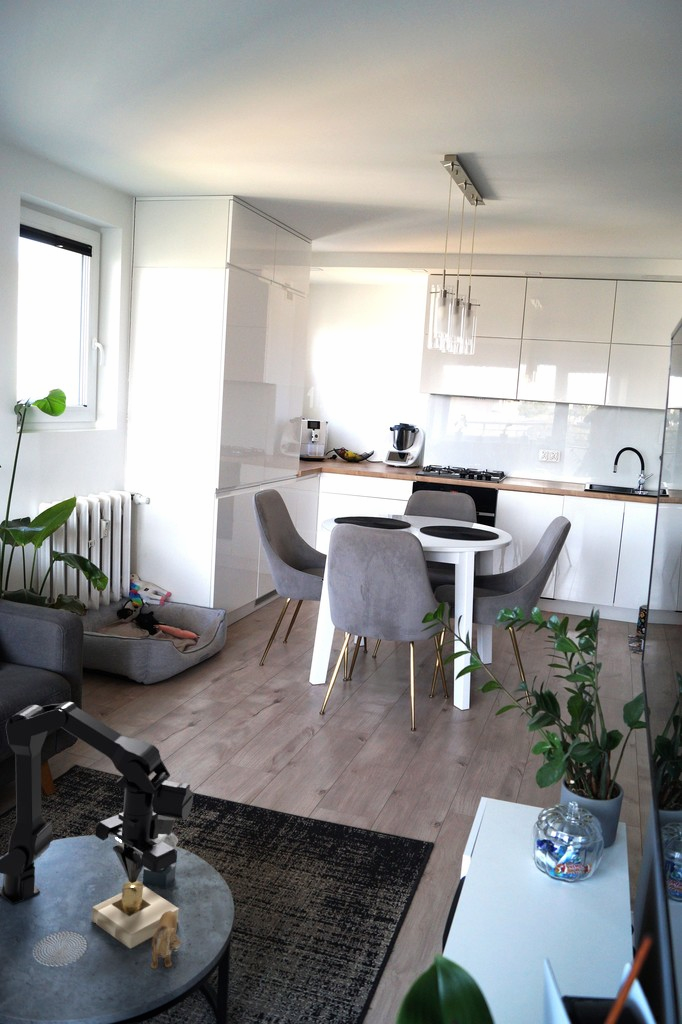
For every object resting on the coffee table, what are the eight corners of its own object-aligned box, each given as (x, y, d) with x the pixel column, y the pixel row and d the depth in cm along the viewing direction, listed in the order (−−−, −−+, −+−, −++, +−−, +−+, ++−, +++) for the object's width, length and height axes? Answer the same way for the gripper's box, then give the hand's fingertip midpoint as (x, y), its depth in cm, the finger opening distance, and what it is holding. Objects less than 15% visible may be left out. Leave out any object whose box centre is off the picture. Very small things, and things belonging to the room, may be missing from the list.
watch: (178, 873, 192) (182, 827, 190) (161, 892, 184) (165, 844, 182) (156, 867, 193) (159, 821, 191) (138, 886, 185) (141, 838, 184)
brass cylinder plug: (116, 917, 174) (118, 885, 173) (132, 909, 177) (134, 878, 176) (128, 926, 172) (131, 894, 171) (144, 918, 175) (147, 886, 174)
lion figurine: (179, 980, 158) (183, 935, 157) (149, 981, 157) (153, 936, 156) (176, 930, 172) (180, 888, 171) (149, 931, 171) (152, 889, 170)
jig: (91, 920, 172) (92, 906, 172) (139, 896, 182) (140, 883, 181) (130, 948, 165) (131, 934, 165) (177, 922, 175) (178, 908, 174)
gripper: (200, 813, 172) (194, 885, 174) (140, 780, 183) (134, 848, 185) (157, 832, 163) (151, 908, 165) (96, 796, 174) (91, 868, 176)
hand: (132, 881), depth 173 cm, fingers closed
